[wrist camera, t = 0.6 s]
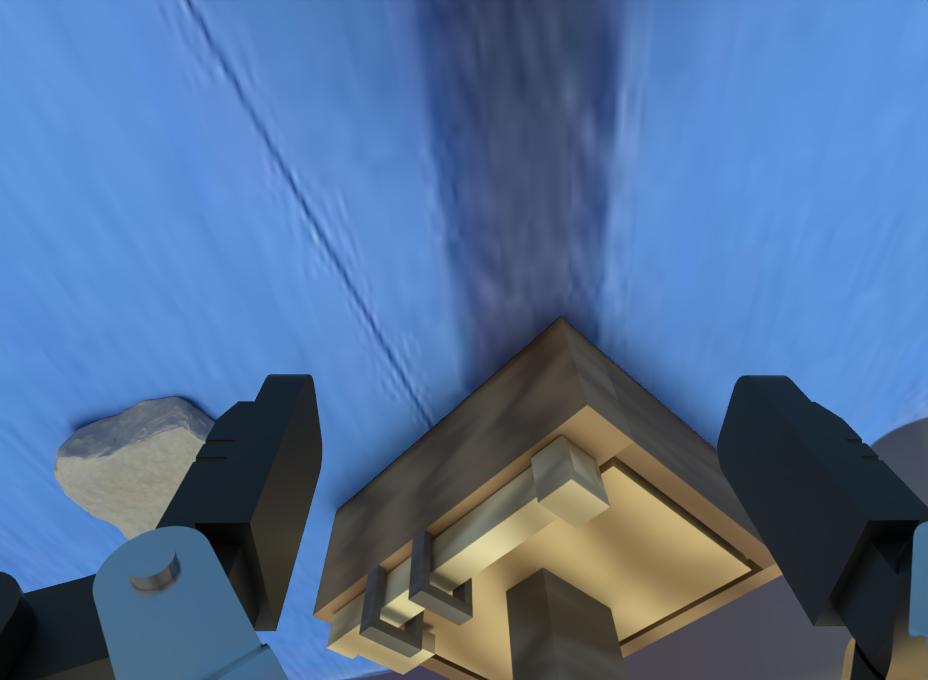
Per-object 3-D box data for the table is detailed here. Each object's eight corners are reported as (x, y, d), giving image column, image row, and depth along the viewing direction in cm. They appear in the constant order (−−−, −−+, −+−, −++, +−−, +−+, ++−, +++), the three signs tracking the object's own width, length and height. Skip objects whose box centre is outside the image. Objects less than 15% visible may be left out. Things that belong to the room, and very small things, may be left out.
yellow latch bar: (561, 435, 27) (571, 479, 25) (640, 494, 29) (656, 539, 27) (327, 612, 35) (318, 659, 32) (405, 648, 37) (401, 695, 34)
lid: (608, 451, 29) (654, 595, 22) (744, 555, 34) (816, 700, 27) (382, 612, 36) (366, 757, 30) (519, 679, 41) (532, 818, 34)
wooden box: (560, 316, 33) (604, 461, 23) (736, 467, 40) (828, 628, 30) (336, 511, 42) (299, 676, 32) (511, 608, 48) (525, 769, 38)
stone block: (196, 366, 37) (56, 429, 37) (181, 411, 33) (24, 482, 33) (291, 482, 43) (171, 536, 44) (288, 532, 39) (156, 591, 40)
